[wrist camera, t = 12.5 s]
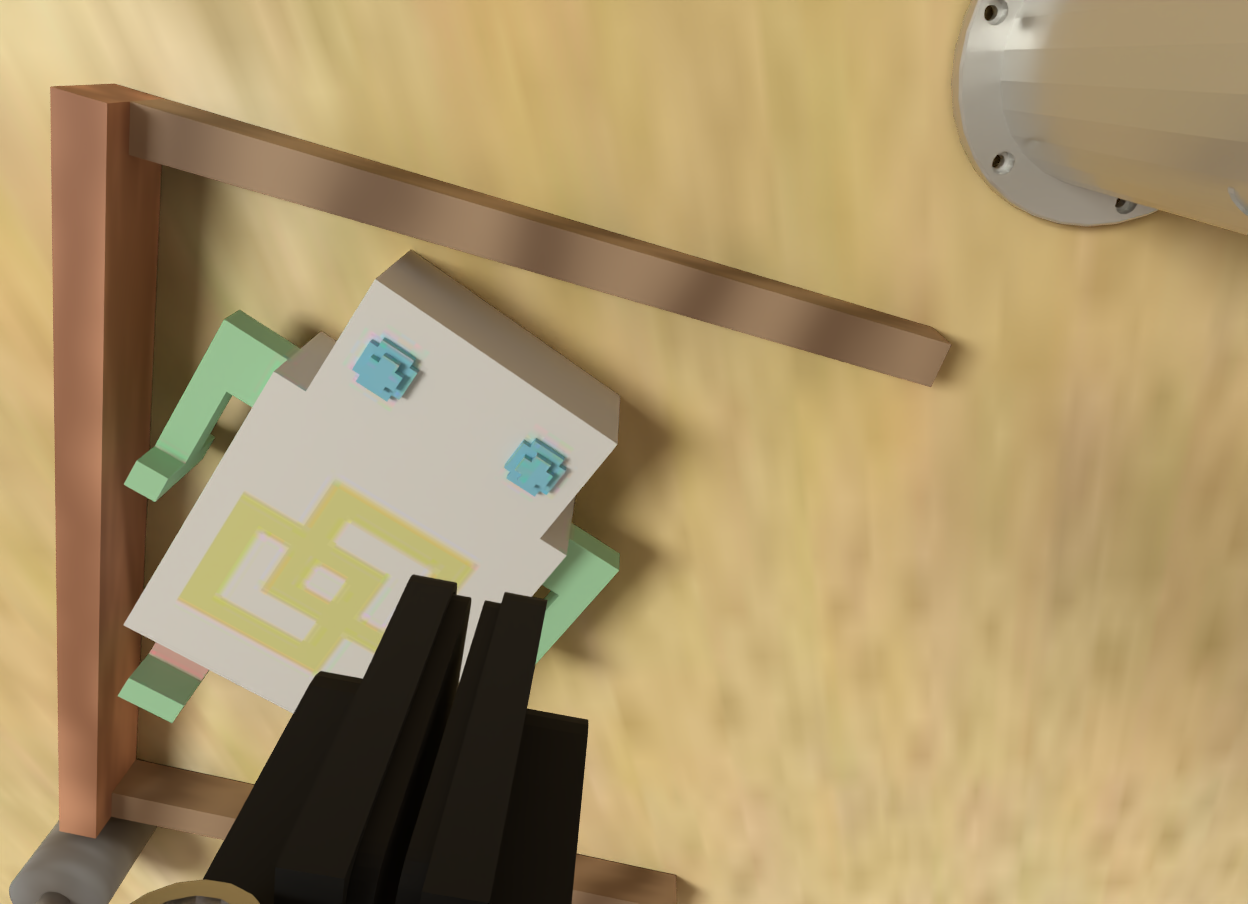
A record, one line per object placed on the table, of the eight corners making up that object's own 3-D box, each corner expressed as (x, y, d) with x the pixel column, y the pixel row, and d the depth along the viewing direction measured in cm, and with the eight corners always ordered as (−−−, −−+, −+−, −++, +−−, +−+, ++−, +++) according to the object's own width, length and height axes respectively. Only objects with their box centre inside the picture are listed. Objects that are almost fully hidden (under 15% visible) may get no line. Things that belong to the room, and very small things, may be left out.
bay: (932, 327, 37) (1003, 391, 30) (642, 946, 56) (642, 1077, 49) (75, 72, 33) (-81, 75, 26) (75, 831, 52) (-15, 954, 45)
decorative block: (264, 212, 30) (699, 507, 34) (326, 187, 35) (690, 443, 40) (21, 663, 39) (392, 846, 43) (102, 584, 44) (421, 753, 49)
